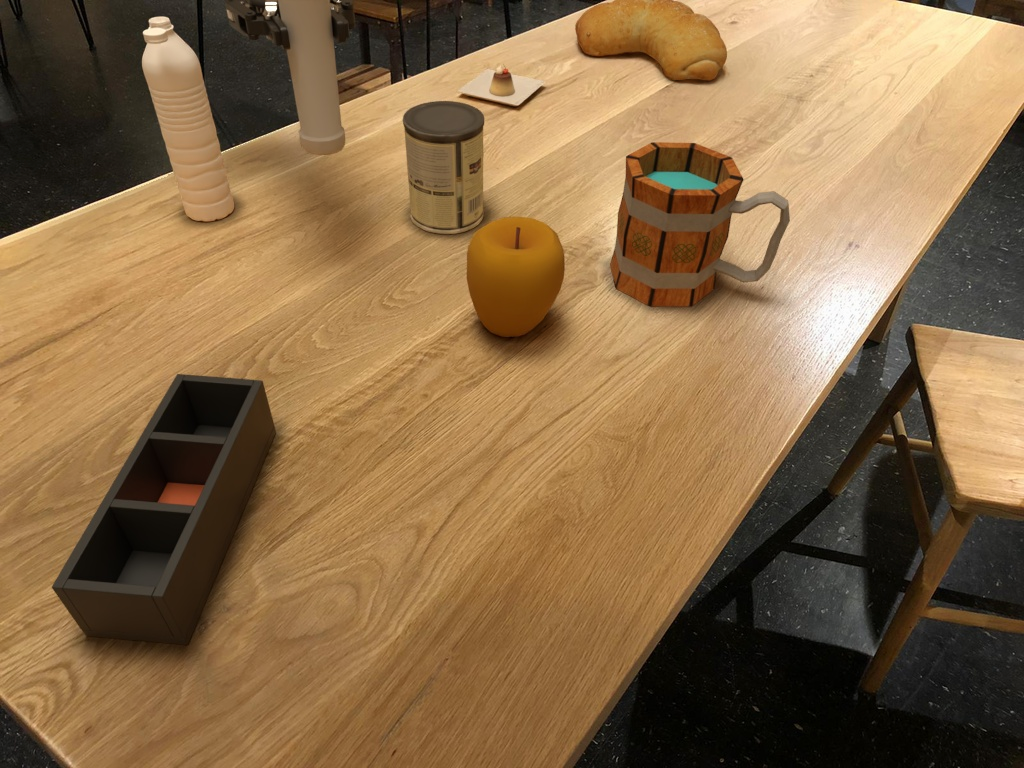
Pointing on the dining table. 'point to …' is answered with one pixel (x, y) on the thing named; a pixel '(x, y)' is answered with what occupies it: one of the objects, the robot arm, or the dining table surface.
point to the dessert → (501, 87)
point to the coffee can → (445, 166)
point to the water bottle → (186, 122)
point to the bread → (655, 36)
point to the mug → (682, 223)
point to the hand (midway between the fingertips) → (313, 36)
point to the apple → (514, 274)
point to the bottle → (314, 74)
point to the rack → (170, 513)
